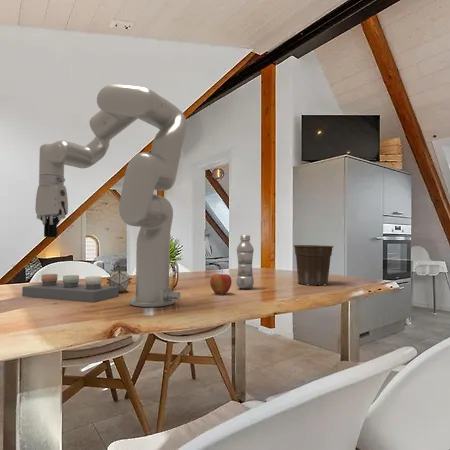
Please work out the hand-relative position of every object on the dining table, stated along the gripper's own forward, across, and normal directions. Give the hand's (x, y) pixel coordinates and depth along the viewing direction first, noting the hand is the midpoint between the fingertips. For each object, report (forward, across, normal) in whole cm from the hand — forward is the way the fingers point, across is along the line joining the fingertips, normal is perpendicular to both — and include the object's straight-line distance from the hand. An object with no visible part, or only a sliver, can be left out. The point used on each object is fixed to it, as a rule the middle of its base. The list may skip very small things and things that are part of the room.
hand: (50, 236), depth 123 cm
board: (+19, -9, 0) cm, 21 cm away
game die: (+19, -18, -13) cm, 29 cm away
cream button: (+17, -18, 0) cm, 25 cm away
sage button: (+17, -9, 0) cm, 19 cm away
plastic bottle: (+19, -56, -38) cm, 70 cm away
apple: (+19, -52, -23) cm, 60 cm away
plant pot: (+19, -78, -63) cm, 102 cm away
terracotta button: (+17, 0, 0) cm, 17 cm away
